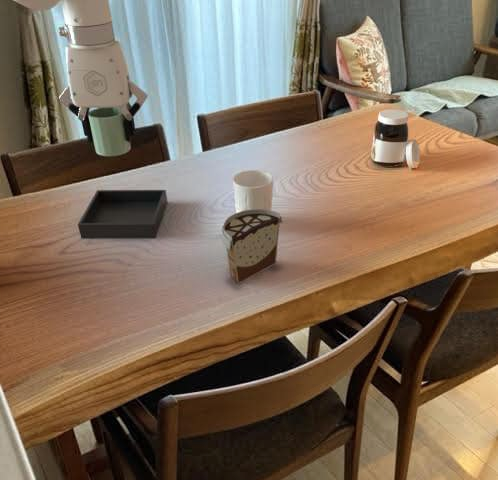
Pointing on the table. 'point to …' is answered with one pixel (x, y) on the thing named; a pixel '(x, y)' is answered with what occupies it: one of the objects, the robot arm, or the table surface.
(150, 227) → the serving tray
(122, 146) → the green cup
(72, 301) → the table surface
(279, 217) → the food container
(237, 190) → the white cup
